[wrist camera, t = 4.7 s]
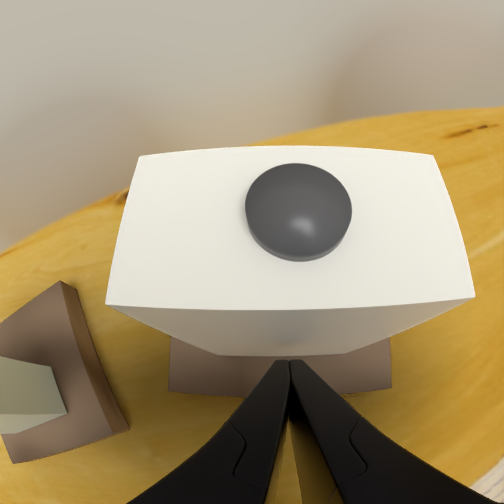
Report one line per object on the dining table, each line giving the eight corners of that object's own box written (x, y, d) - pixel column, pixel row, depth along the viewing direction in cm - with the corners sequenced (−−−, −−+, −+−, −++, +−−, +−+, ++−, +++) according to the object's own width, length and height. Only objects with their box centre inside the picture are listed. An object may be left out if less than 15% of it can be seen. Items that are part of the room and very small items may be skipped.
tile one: (344, 353, 13) (485, 291, 3) (218, 355, 13) (95, 299, 4) (341, 293, 14) (437, 145, 5) (220, 295, 14) (134, 146, 5)
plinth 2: (378, 387, 14) (391, 388, 12) (180, 389, 15) (168, 391, 13) (363, 226, 18) (371, 210, 16) (192, 228, 19) (184, 212, 17)
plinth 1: (130, 429, 14) (113, 433, 12) (29, 461, 12) (12, 463, 10) (76, 289, 17) (59, 280, 16) (-6, 346, 16) (-23, 341, 14)
